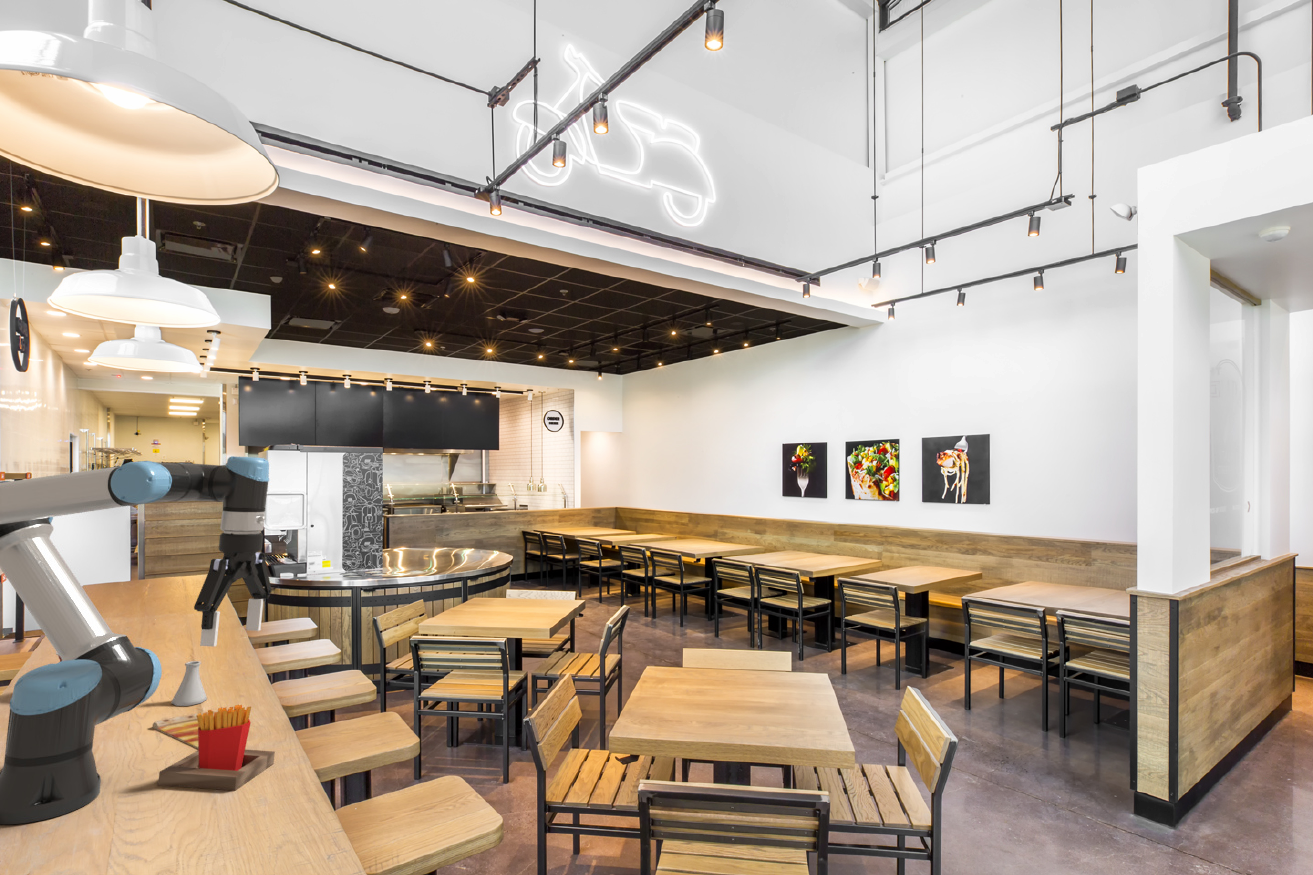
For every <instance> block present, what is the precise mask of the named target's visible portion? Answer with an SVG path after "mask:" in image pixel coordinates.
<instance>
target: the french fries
mask: <svg viewBox="0 0 1313 875" xmlns="http://www.w3.org/2000/svg"><path fill="white" fill-rule="evenodd" d="M251 710H252V706H247V707H243V705H242V704H236V705H235V706H230V707H229V708H228V709H227V707H219V708H218V709H217V711H218V712H215V711H214V710H212V709H207V711H206V712H200V713H199V714H198V713H196V714H197V716H196V717H197V721H198V724H199V727H198V749H197V751H198V754H199V767H198V768H204V769H218V770H233V771H238V770H239V769H241V768H243V767H242V762H243V757H244V752H245V749H246V746H247V743H248V742H247V741H248V737H249V732H250V728H251V723H252V722H251V720H250V719H249V718H250V713H251ZM207 712H208V715H207ZM213 712H214V717H213ZM201 713H203V715H201Z"/></svg>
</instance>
